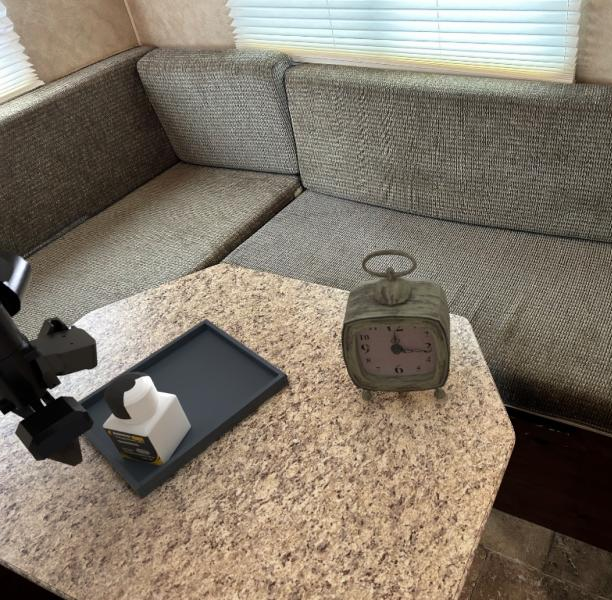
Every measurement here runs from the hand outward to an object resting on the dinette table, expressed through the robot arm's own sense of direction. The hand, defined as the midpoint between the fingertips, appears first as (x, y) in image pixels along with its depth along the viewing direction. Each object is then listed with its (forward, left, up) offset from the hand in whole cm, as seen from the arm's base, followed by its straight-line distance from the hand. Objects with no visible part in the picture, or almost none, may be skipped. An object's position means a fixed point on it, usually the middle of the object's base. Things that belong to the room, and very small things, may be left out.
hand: (60, 443), depth 72 cm
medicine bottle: (+10, +3, -12) cm, 16 cm away
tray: (+16, +7, -13) cm, 22 cm away
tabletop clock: (+40, -18, -13) cm, 46 cm away
